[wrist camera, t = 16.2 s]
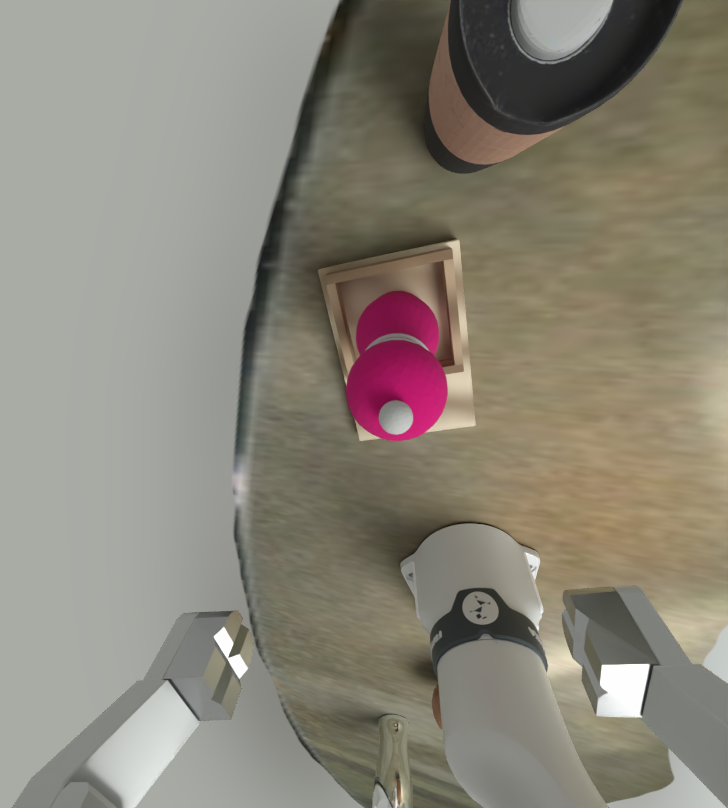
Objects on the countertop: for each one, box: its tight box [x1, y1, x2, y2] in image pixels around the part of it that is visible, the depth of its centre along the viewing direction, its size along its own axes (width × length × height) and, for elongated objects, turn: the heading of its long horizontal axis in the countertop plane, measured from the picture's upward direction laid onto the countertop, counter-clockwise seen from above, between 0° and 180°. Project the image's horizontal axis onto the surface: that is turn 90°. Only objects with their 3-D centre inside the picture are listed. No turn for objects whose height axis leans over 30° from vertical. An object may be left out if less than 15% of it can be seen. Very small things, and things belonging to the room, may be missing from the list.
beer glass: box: [373, 714, 413, 808], centre depth 67 cm, size 7×7×15 cm
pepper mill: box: [346, 291, 448, 441], centre depth 27 cm, size 7×7×20 cm
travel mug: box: [425, 0, 683, 173], centre depth 21 cm, size 8×8×20 cm
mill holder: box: [318, 239, 475, 441], centre depth 37 cm, size 19×13×4 cm
